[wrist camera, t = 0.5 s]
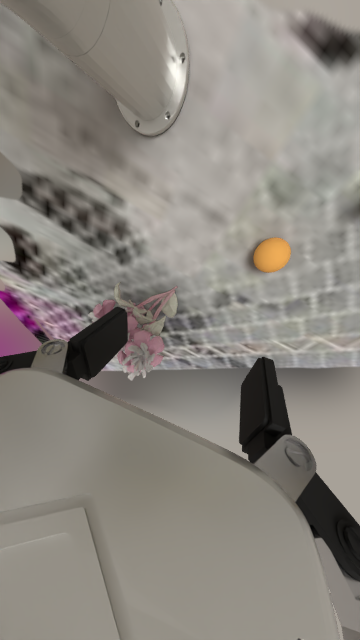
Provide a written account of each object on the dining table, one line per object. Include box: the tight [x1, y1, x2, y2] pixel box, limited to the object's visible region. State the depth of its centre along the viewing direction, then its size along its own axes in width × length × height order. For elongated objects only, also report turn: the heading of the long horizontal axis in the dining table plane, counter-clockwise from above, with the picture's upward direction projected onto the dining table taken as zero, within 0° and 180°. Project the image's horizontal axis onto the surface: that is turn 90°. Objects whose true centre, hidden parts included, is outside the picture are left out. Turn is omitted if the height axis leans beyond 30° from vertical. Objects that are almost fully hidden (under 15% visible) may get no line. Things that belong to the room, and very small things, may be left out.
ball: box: [254, 238, 291, 273], centre depth 30 cm, size 6×6×6 cm
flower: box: [88, 282, 178, 380], centre depth 41 cm, size 20×22×25 cm
